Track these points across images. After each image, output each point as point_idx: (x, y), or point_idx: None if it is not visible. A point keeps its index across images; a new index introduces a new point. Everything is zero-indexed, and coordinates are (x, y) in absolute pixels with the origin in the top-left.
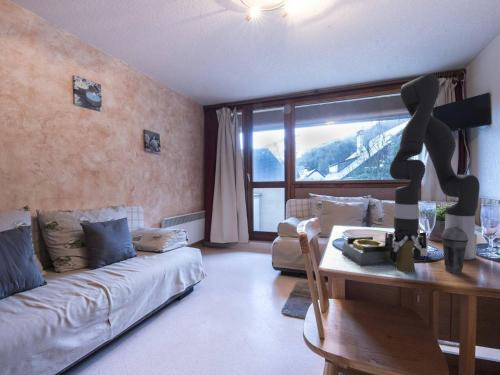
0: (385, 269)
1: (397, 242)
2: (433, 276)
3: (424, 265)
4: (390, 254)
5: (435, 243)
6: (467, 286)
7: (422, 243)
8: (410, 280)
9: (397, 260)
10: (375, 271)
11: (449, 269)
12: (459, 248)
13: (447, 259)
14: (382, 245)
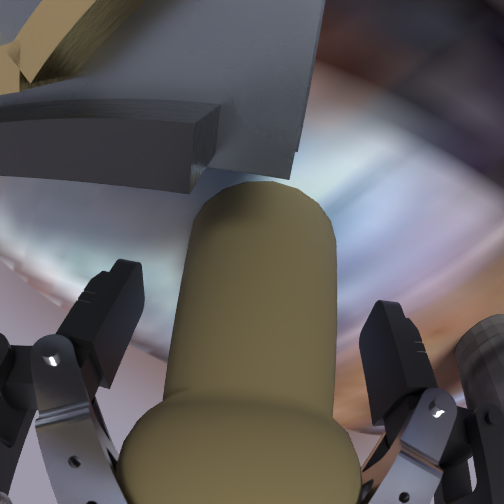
0: (101, 212)
1: (121, 463)
2: None
3: (467, 244)
4: (74, 308)
5: None
6: (344, 425)
7: (441, 485)
8: (159, 358)
9: (183, 273)
10: (32, 222)
11: (459, 359)
12: None
13: (476, 401)
14: (14, 126)
